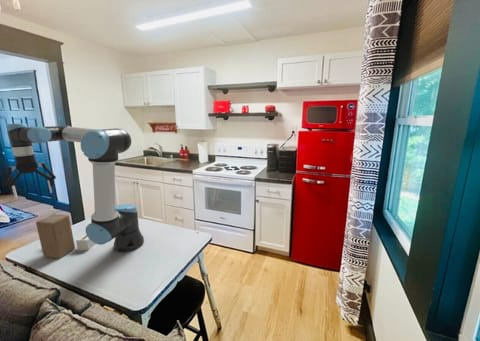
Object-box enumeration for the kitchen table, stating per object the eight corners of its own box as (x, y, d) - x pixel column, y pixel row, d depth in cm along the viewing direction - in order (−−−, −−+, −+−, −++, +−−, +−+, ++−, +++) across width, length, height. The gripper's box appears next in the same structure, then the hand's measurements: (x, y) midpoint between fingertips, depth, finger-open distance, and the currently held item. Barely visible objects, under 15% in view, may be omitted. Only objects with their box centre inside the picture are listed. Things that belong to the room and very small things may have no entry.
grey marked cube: (95, 244, 130) (94, 234, 128) (89, 250, 124) (87, 239, 123) (85, 244, 130) (83, 234, 128) (77, 250, 124) (75, 239, 123)
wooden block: (58, 259, 116) (50, 223, 111) (42, 257, 118) (34, 221, 113) (76, 248, 125) (69, 214, 121) (61, 246, 127) (54, 213, 123)
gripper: (55, 151, 125) (63, 188, 130) (-11, 157, 110) (1, 199, 115) (56, 152, 120) (64, 191, 124) (-14, 159, 104) (-1, 203, 109)
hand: (34, 195), depth 119 cm, fingers open, 13 cm apart
